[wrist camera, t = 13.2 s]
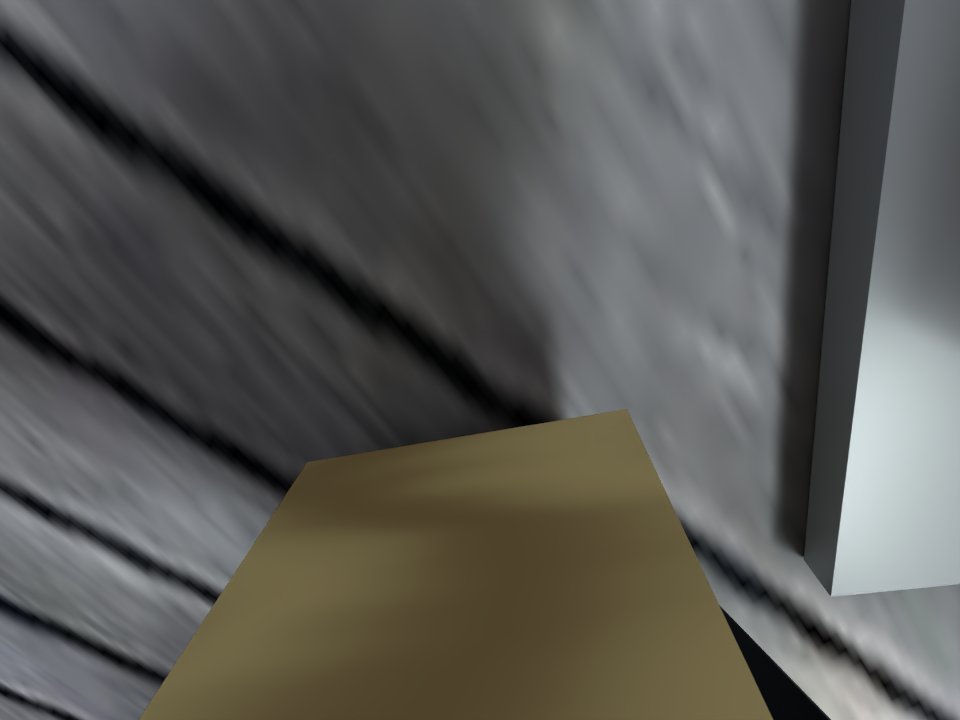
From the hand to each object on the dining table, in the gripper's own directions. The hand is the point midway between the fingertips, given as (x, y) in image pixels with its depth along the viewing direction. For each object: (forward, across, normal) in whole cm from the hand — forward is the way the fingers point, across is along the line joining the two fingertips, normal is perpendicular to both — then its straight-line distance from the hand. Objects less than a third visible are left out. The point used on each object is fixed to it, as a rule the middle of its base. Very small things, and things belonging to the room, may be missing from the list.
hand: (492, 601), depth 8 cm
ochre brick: (+1, 0, 0) cm, 1 cm away
